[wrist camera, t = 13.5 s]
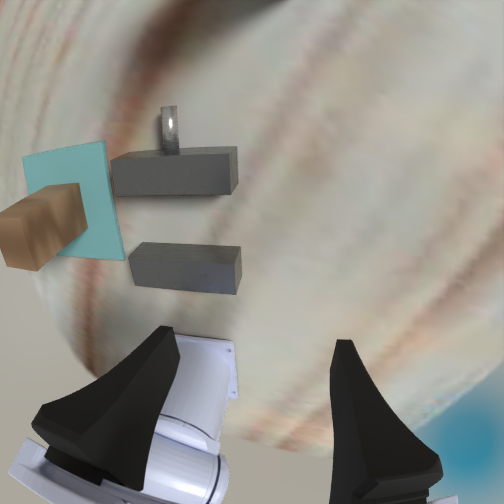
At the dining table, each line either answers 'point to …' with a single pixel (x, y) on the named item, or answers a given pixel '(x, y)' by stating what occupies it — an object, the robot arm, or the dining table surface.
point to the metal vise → (181, 183)
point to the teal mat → (92, 191)
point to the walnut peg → (41, 225)
